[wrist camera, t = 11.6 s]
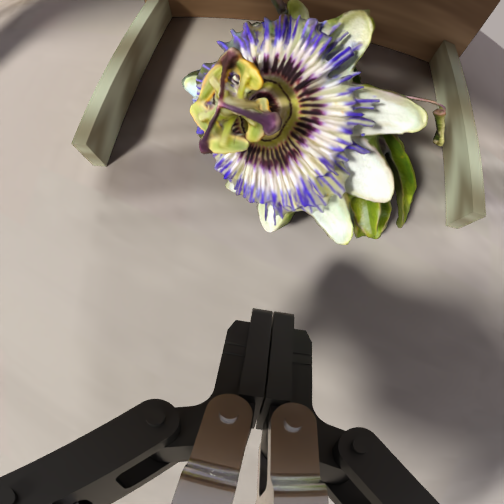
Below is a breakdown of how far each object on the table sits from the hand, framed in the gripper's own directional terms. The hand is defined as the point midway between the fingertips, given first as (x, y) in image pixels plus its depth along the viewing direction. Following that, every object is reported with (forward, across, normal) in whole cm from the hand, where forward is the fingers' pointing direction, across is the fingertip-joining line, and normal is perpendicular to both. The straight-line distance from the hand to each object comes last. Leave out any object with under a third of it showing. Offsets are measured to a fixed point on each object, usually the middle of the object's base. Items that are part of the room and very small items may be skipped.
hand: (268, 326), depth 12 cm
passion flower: (+10, -1, -3) cm, 11 cm away
